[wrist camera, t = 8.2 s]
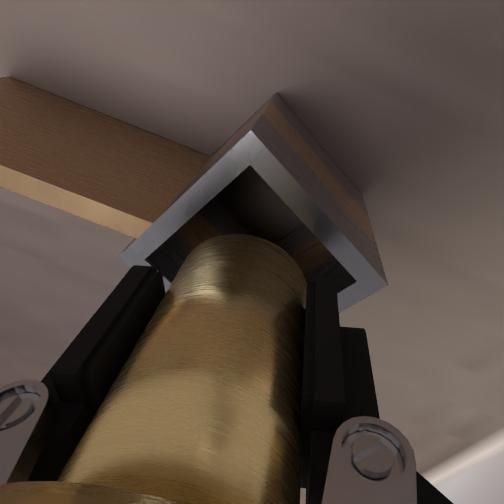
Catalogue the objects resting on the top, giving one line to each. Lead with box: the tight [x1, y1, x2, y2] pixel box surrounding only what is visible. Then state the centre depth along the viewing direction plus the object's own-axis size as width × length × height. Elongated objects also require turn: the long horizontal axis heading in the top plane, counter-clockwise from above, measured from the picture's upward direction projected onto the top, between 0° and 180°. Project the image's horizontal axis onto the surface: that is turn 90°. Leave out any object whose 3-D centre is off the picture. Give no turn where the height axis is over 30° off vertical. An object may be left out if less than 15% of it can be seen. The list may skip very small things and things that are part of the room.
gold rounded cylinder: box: [0, 234, 307, 504], centre depth 8 cm, size 6×6×8 cm
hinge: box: [0, 77, 388, 313], centre depth 18 cm, size 16×20×8 cm
